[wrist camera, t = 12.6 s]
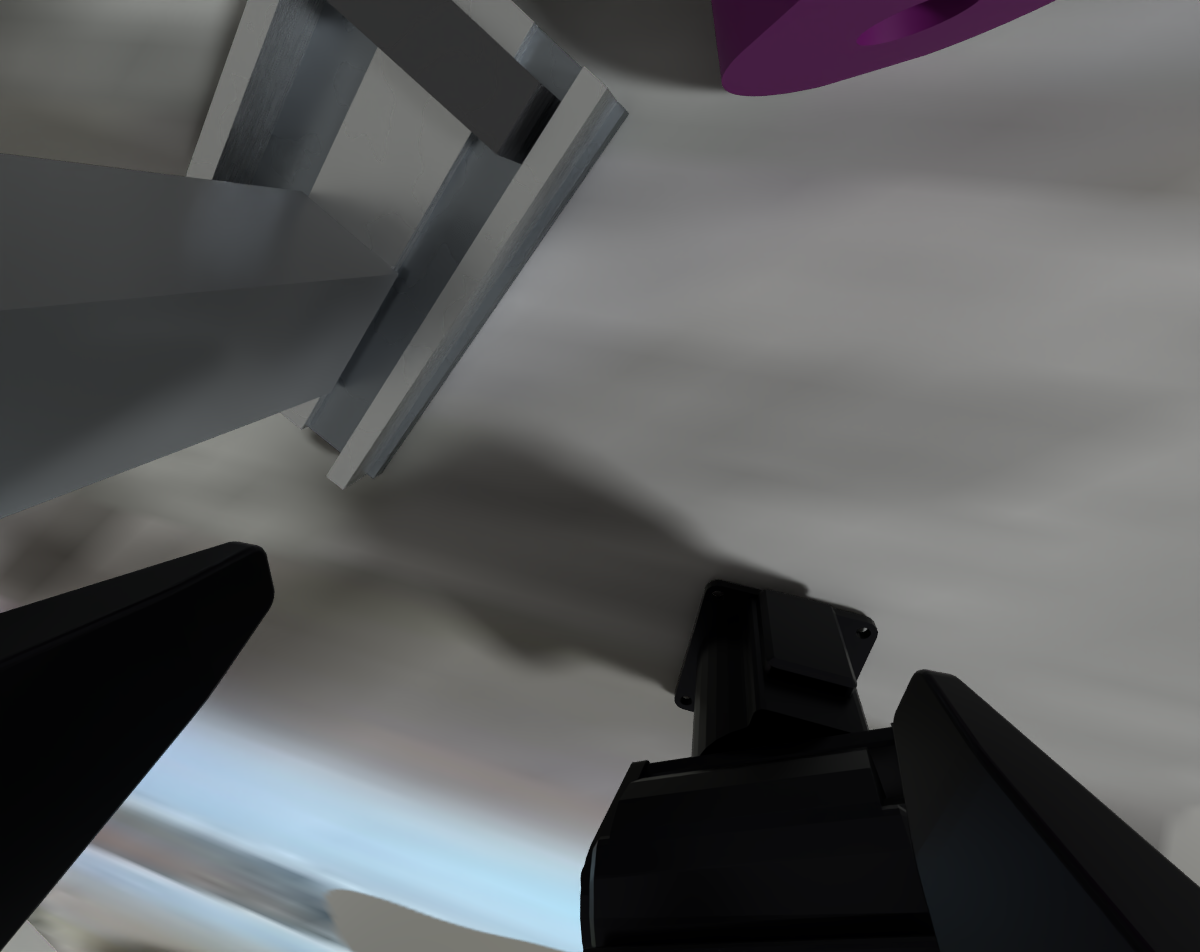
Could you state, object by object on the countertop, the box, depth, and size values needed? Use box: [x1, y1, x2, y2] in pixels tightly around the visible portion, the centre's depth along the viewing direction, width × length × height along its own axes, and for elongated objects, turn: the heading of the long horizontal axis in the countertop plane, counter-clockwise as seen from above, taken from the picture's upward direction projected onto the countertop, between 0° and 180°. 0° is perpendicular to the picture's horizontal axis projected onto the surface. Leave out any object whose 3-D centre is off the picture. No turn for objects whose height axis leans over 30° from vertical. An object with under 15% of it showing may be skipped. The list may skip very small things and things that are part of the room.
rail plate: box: [185, 0, 629, 490], centre depth 18 cm, size 16×10×3 cm, turn 141°
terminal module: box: [0, 153, 398, 519], centre depth 14 cm, size 5×6×13 cm
